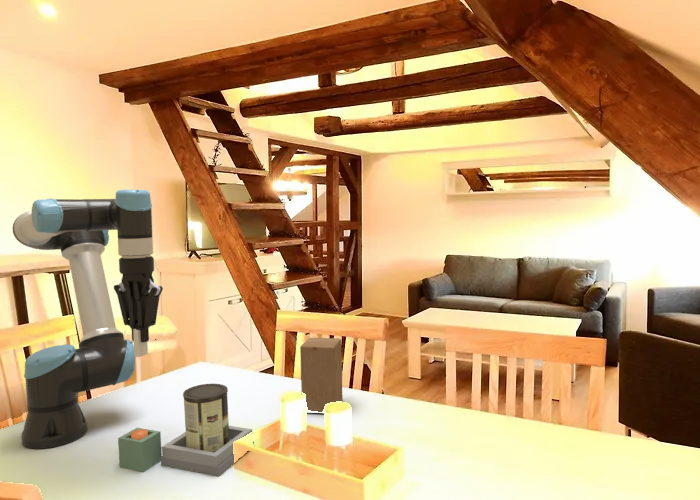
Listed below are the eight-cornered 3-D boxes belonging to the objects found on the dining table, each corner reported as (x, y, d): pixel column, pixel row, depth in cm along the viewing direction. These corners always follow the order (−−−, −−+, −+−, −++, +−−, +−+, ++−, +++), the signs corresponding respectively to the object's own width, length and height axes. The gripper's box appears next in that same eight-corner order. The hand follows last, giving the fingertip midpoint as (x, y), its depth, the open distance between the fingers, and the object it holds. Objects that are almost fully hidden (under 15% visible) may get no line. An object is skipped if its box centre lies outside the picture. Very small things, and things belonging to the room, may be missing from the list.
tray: (161, 464, 122) (160, 446, 121) (201, 438, 135) (200, 421, 135) (218, 476, 116) (217, 456, 115) (254, 446, 130) (253, 429, 129)
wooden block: (335, 415, 148) (333, 347, 147) (301, 413, 150) (299, 345, 149) (342, 402, 158) (341, 338, 156) (311, 401, 160) (309, 337, 158)
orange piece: (128, 455, 121) (127, 434, 121) (140, 448, 124) (138, 428, 124) (140, 457, 120) (139, 436, 119) (152, 450, 123) (150, 430, 123)
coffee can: (209, 434, 133) (207, 380, 132) (238, 443, 127) (236, 387, 126) (176, 450, 124) (173, 393, 123) (206, 461, 119) (203, 401, 117)
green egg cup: (119, 467, 121) (117, 438, 120) (138, 455, 126) (137, 427, 126) (143, 472, 118) (141, 442, 118) (161, 460, 124) (160, 431, 123)
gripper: (169, 255, 122) (174, 353, 124) (127, 253, 127) (132, 348, 129) (145, 258, 115) (150, 362, 117) (102, 257, 120) (108, 356, 122)
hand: (141, 355), depth 123 cm, fingers closed
